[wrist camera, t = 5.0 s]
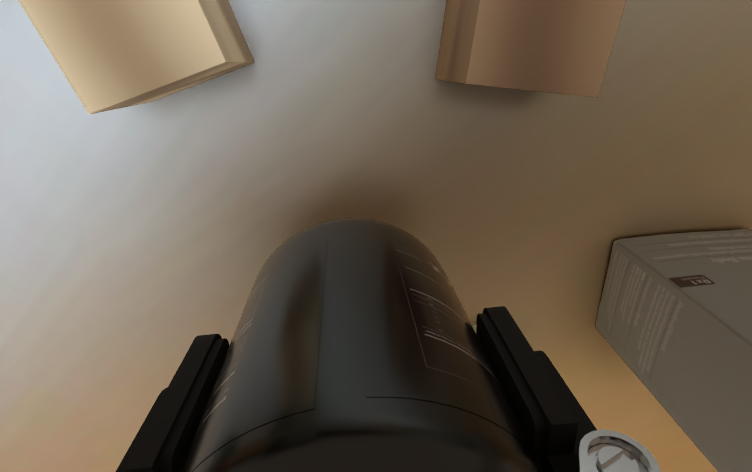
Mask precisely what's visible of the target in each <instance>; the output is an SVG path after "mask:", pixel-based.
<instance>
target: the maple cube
mask: <svg viewBox="0 0 752 472" xmlns="http://www.w3.org/2000/svg"><path fill="white" fill-rule="evenodd" d="M18 1H19V2H20V4H21V6H22V7H23V9H24V10H25V12H26V14H27V15H28V17H29V18H30V20H31V22H32V23H33V25H34V27H35V28H36V30H37V31H38V33H39V35H40V36H41V38H42V39H43V41H44V43H45V44H46V46H47V48H48V49H49V51H50V52H51V54H52V56H53V57H54V59H55V60H56V62H57V64H58V65H59V67H60V69H61V70H62V72H63V73H64V75H65V77H66V78H67V80H68V81H69V83H70V85H71V86H72V88H73V90H74V91H75V93H76V94H77V96H78V98H79V99H80V101H81V102H82V104H83V106H84V107H85V109H86V111H87V112H88V114H93V113H98V112H103V111H108V110H113V109H118V108H123V107H128V106H133V105H138V104H143V103H148V102H152V101H155V100H157V99H160V98H163V97H165V96H168V95H170V94H173V93H176V92H178V91H181V90H184V89H186V88H189V87H191V86H194V85H197V84H199V83H202V82H205V81H207V80H210V79H212V78H215V77H218V76H220V75H223V74H225V73H228V72H231V71H233V70H236V69H239V68H241V67H244V66H246V65H249V64H252V63H254V60H253V57H252V55H251V53H250V50H249V48H248V46H247V43H246V41H245V39H244V36H243V34H242V32H241V29H240V27H239V25H238V22H237V20H236V18H235V15H234V13H233V11H232V8H231V6H230V4H229V2H228V0H18Z"/></svg>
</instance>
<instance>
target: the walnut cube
mask: <svg viewBox="0 0 752 472" xmlns="http://www.w3.org/2000/svg"><path fill="white" fill-rule="evenodd" d="M625 4H626V0H447V1H446V8H445V15H444V22H443V28H442V35H441V42H440V49H439V56H438V63H437V70H436V77H435V79H440V80H446V81H452V82H458V83H465V84H474V85H483V86H492V87H502V88H511V89H521V90H530V91H540V92H549V93H559V94H568V95H577V96H587V97H596V98H598V95H599V92H600V88H601V85H602V81H603V78H604V75H605V71H606V68H607V65H608V61H609V58H610V54H611V51H612V48H613V44H614V41H615V37H616V34H617V31H618V27H619V24H620V21H621V17H622V14H623V10H624V7H625Z"/></svg>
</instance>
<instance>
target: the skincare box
mask: <svg viewBox="0 0 752 472" xmlns="http://www.w3.org/2000/svg"><path fill="white" fill-rule="evenodd" d="M596 329H597V330H598V331H599V332H600V333H601V335H602V336H603V337H604V338H605V339H606V340H607V342H608V343H609V344H610V345H611V346H612V347H613V349H614V350H615V351H616V352H617V354H618V355H619V356H620V357H621V358H622V359H623V361H624V362H625V363H626V364H627V365H628V367H629V368H630V369H631V370H632V371H633V372H634V373H635V375H636V376H637V377H638V378H639V379H640V381H641V382H642V383H643V384H644V385H645V386H646V388H647V389H648V390H649V391H650V392H651V393H652V395H653V396H654V397H655V398H656V399H657V400H658V402H659V403H660V404H661V405H662V406H663V407H664V409H665V410H666V411H667V412H668V413H669V415H670V416H671V417H672V418H673V419H674V420H675V422H676V423H677V424H678V425H679V426H680V427H681V429H682V430H683V431H684V432H685V433H686V434H687V436H688V437H689V438H690V439H691V440H692V442H693V443H694V444H695V445H696V446H697V448H698V449H699V450H700V451H701V452H702V453H703V454H704V456H705V457H706V458H707V459H708V460H709V461H710V463H711V464H712V465H713V466H714V467H715V468H716V469H717V471H718V472H752V230H748V229H738V230H730V231H706V232H689V233H676V234H663V235H653V236H643V237H634V238H625V239H620V240H616V241H614V243H613V247H612V253H611V256H610V262H609V266H608V271H607V276H606V280H605V285H604V289H603V293H602V297H601V302H600V306H599V311H598V316H597V320H596Z"/></svg>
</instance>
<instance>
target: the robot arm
mask: <svg viewBox="0 0 752 472" xmlns="http://www.w3.org/2000/svg"><path fill="white" fill-rule="evenodd" d="M476 335H477V337H478V339H479V341H480V343H481V345H482V347H483V349H484V351H485V353H486V355H487V357H488V359H489V361H490V363H491V365H492V367H493V369H494V371H495V373H496V375H497V377H498V379H499V381H500V383H501V385H502V387H503V389H504V391H505V393H506V395H507V397H508V399H509V401H510V403H511V405H512V407H513V409H514V411H515V413H516V415H517V417H518V419H519V421H520V423H521V425H522V427H523V429H524V431H525V433H526V435H527V437H528V439H529V441H530V443H531V445H532V447H533V449H534V451H535V453H536V455H537V457H538V459H539V461H540V463H541V465H542V467H543V469H544V471H545V472H661V470H660V468H659V465H658V463H657V461H656V459H655V458H654V457H653V455H652V454H651V453H650V452H649V450H647V449H646V448H645V447H644V446H643V445H641V444H640V443H639V442H638V441H636V440H634V439H632V438H630V437H629V436H627V435H624V434H621V433H618V432H616V431H610V430H597V429H596V428H595V426H594V425H593V423H592V422H591V420H590V419H589V418H588V416H587V415H586V413H585V412H584V410H583V409H582V407H581V406H580V404H579V403H578V401H577V400H576V398H575V397H574V395H573V394H572V392H571V391H570V389H569V388H568V386H567V385H566V383H565V382H564V380H563V379H562V377H561V376H560V374H559V373H558V371H557V370H556V368H555V367H554V365H553V364H552V363H551V361H550V360H549V358H548V357H547V355H546V354H545V353H544V352H542V351H533V349H532V348H531V346H530V345H529V343H528V341H527V340H526V338H525V337H524V335H523V334H522V332H521V330H520V329H519V327H518V326H517V324H516V323H515V321H514V320H513V318H512V316H511V315H510V313H509V312H508V310H507V309H506V307H504V306H503V307H492V308H485V309H484V310H483V314H478V315H477V325H476ZM228 349H229V342H228V340H227V339H222V338H221V336H220V335H219V334H212V335H201V336H197V337H196V338H195V339H194V341H193V343H192V345H191V346H190V348H189V350H188V352H187V354H186V355H185V357H184V359H183V361H182V363H181V365H180V366H179V368H178V370H177V372H176V374H175V375H174V377H173V379H172V381H171V383H170V385H169V386H168V388H166V389H164V390H163V391H162V392H161V393H160V395H159V396H158V398H157V400H156V401H155V403H154V405H153V407H152V408H151V410H150V412H149V414H148V416H147V417H146V419H145V421H144V423H143V424H142V426H141V428H140V430H139V432H138V433H137V435H136V437H135V439H134V440H133V442H132V444H131V446H130V447H129V449H128V451H127V453H126V455H125V456H124V458H123V460H122V462H121V463H120V465H119V467H118V469H117V470H116V472H181V470H182V467H183V465H184V462H185V459H186V457H187V454H188V452H189V449H190V447H191V444H192V441H193V439H194V436H195V434H196V431H197V429H198V426H199V423H200V421H201V418H202V416H203V413H204V411H205V408H206V405H207V403H208V400H209V398H210V395H211V393H212V390H213V387H214V385H215V382H216V380H217V377H218V375H219V372H220V369H221V367H222V364H223V362H224V359H225V357H226V354H227V351H228Z"/></svg>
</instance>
